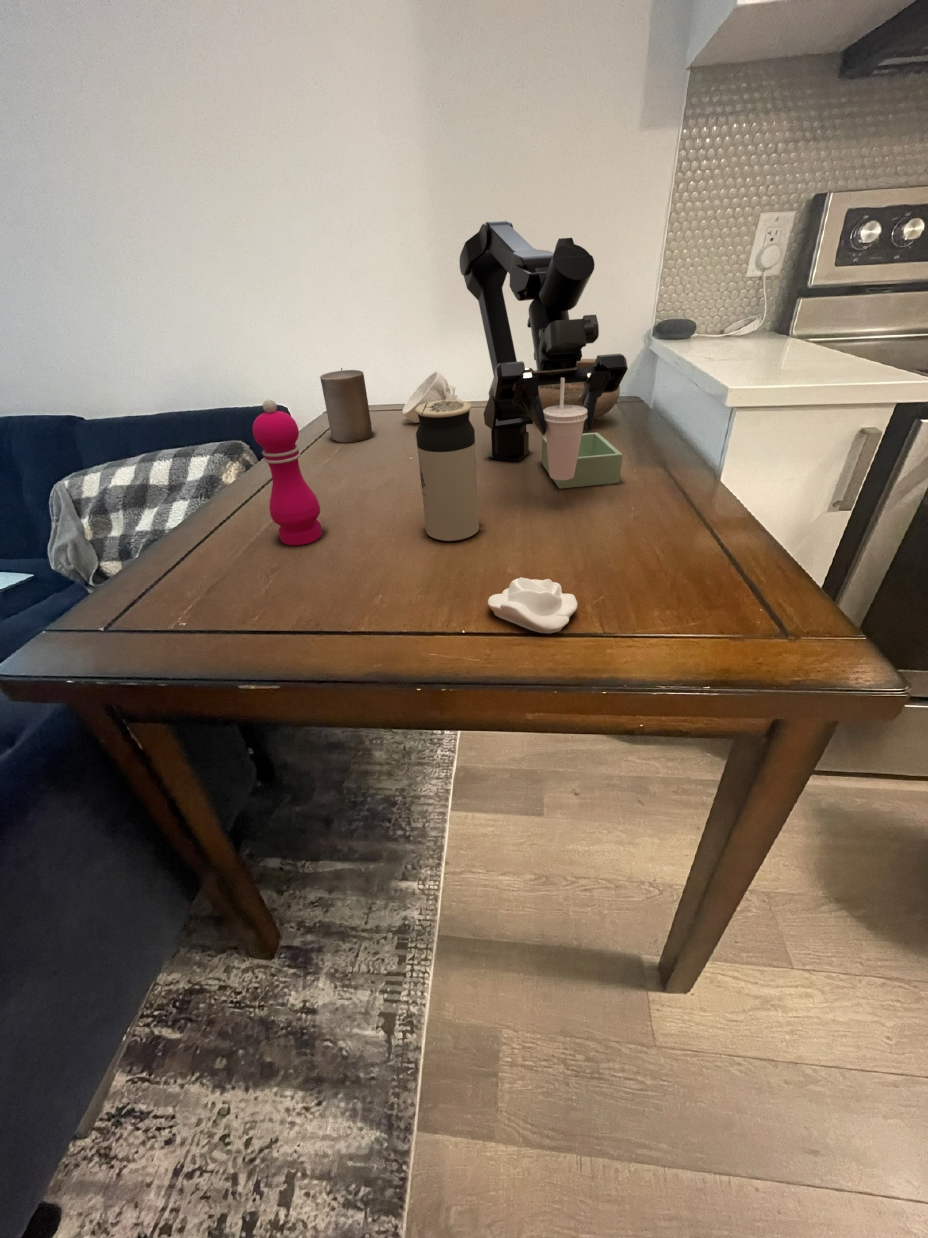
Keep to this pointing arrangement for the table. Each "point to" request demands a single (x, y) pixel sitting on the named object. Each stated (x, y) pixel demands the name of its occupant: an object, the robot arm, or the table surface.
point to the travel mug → (448, 469)
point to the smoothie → (563, 436)
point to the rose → (534, 605)
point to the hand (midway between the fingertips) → (566, 431)
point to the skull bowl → (429, 394)
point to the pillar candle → (347, 405)
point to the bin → (591, 462)
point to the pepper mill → (287, 477)
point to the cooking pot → (577, 394)
